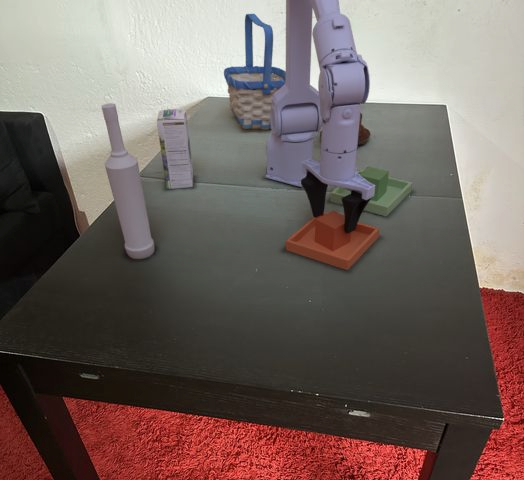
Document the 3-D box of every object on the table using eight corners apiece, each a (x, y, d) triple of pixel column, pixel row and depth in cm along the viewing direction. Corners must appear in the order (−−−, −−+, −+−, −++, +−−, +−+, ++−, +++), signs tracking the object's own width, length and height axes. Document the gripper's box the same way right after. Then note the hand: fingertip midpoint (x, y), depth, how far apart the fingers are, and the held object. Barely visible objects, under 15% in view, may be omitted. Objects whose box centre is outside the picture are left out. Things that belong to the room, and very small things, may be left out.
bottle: (160, 246, 95) (132, 101, 78) (147, 261, 92) (114, 113, 75) (135, 242, 97) (102, 98, 80) (121, 257, 93) (83, 110, 76)
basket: (299, 131, 134) (300, 25, 118) (235, 139, 131) (228, 31, 115) (279, 105, 148) (278, 7, 132) (222, 111, 146) (214, 13, 130)
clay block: (314, 241, 94) (315, 219, 91) (332, 232, 96) (333, 210, 93) (333, 251, 91) (334, 228, 88) (350, 242, 93) (352, 219, 90)
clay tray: (285, 250, 93) (285, 240, 92) (319, 220, 100) (320, 211, 99) (347, 270, 88) (348, 260, 86) (378, 237, 95) (379, 228, 94)
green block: (356, 196, 106) (358, 174, 103) (366, 187, 109) (368, 166, 106) (376, 201, 104) (379, 179, 101) (386, 192, 107) (389, 171, 104)
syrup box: (167, 178, 116) (156, 109, 106) (194, 176, 116) (185, 107, 106) (166, 189, 112) (154, 119, 102) (194, 187, 112) (185, 117, 102)
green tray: (330, 201, 106) (330, 192, 104) (357, 178, 113) (358, 169, 112) (386, 216, 100) (387, 207, 99) (411, 191, 108) (412, 182, 106)
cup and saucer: (377, 137, 129) (380, 111, 125) (356, 154, 122) (359, 127, 118) (333, 128, 134) (335, 103, 130) (311, 145, 127) (312, 118, 123)
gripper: (391, 152, 81) (380, 229, 91) (323, 127, 89) (319, 201, 99) (361, 166, 78) (353, 245, 87) (293, 139, 86) (292, 214, 95)
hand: (333, 223), depth 93 cm, fingers open, 7 cm apart
